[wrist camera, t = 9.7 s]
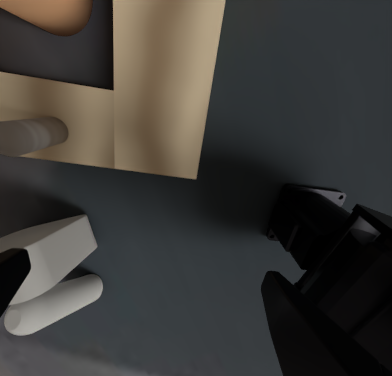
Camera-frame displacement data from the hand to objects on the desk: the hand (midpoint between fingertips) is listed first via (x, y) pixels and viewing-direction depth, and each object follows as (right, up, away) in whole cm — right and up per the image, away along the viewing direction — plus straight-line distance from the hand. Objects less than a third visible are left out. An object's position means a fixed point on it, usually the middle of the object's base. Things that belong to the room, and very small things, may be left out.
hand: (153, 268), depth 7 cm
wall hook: (-12, -4, +15) cm, 19 cm away
